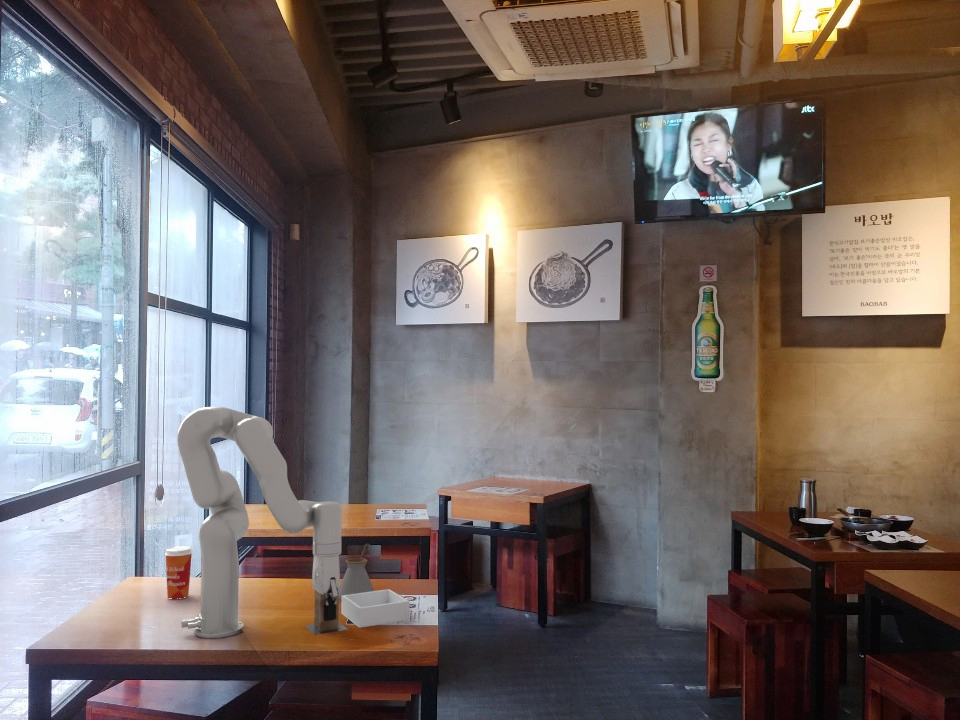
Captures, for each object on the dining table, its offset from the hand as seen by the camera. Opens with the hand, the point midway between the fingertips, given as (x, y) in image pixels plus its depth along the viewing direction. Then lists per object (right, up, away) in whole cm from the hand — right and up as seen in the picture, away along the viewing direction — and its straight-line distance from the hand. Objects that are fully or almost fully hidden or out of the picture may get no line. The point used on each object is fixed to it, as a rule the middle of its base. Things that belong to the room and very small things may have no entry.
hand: (326, 616), depth 199 cm
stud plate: (0, -4, 0) cm, 4 cm away
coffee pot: (+4, -6, +32) cm, 32 cm away
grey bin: (+12, -4, +10) cm, 16 cm away
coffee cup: (-53, -6, +33) cm, 63 cm away
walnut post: (0, -3, 0) cm, 3 cm away
